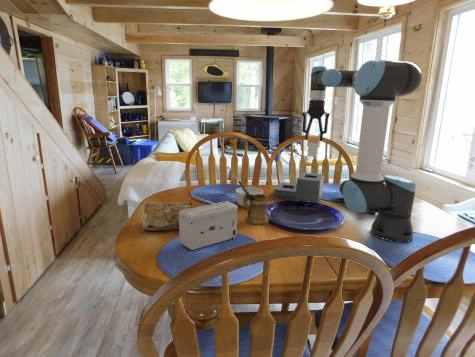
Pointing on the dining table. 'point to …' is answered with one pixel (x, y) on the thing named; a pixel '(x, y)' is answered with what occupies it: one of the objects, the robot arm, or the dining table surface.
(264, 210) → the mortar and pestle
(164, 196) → the dining table surface
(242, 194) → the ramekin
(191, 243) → the stereo radio cassette player
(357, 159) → the robot arm
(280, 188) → the dock
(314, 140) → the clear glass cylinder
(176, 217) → the petrified wood
